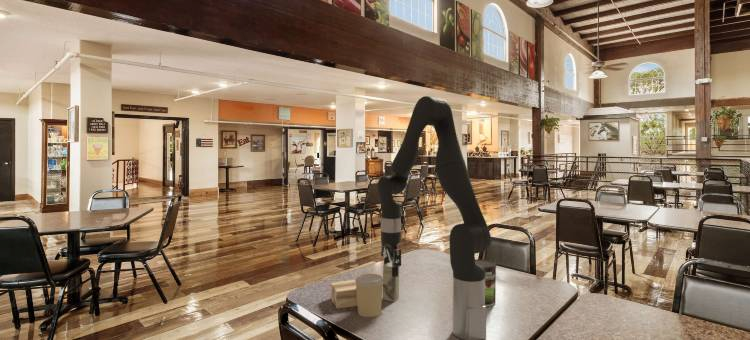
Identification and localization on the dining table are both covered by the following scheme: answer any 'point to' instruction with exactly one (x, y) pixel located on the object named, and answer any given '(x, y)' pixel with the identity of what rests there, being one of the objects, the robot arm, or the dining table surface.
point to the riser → (344, 293)
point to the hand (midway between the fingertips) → (390, 272)
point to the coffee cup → (369, 294)
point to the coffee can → (489, 280)
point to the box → (390, 283)
